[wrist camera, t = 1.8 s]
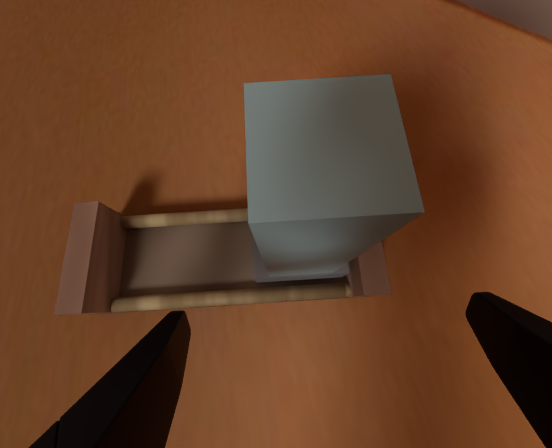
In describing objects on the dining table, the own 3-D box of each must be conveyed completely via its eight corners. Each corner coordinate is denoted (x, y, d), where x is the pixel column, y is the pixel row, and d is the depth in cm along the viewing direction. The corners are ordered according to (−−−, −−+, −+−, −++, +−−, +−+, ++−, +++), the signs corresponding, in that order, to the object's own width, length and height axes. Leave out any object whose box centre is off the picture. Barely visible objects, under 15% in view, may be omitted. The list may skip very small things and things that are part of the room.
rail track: (353, 208, 22) (371, 183, 17) (367, 296, 20) (391, 293, 15) (110, 223, 22) (68, 203, 17) (98, 313, 20) (46, 315, 15)
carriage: (333, 221, 20) (427, 68, 7) (340, 277, 19) (469, 213, 6) (254, 226, 20) (207, 82, 7) (256, 282, 19) (203, 230, 6)
